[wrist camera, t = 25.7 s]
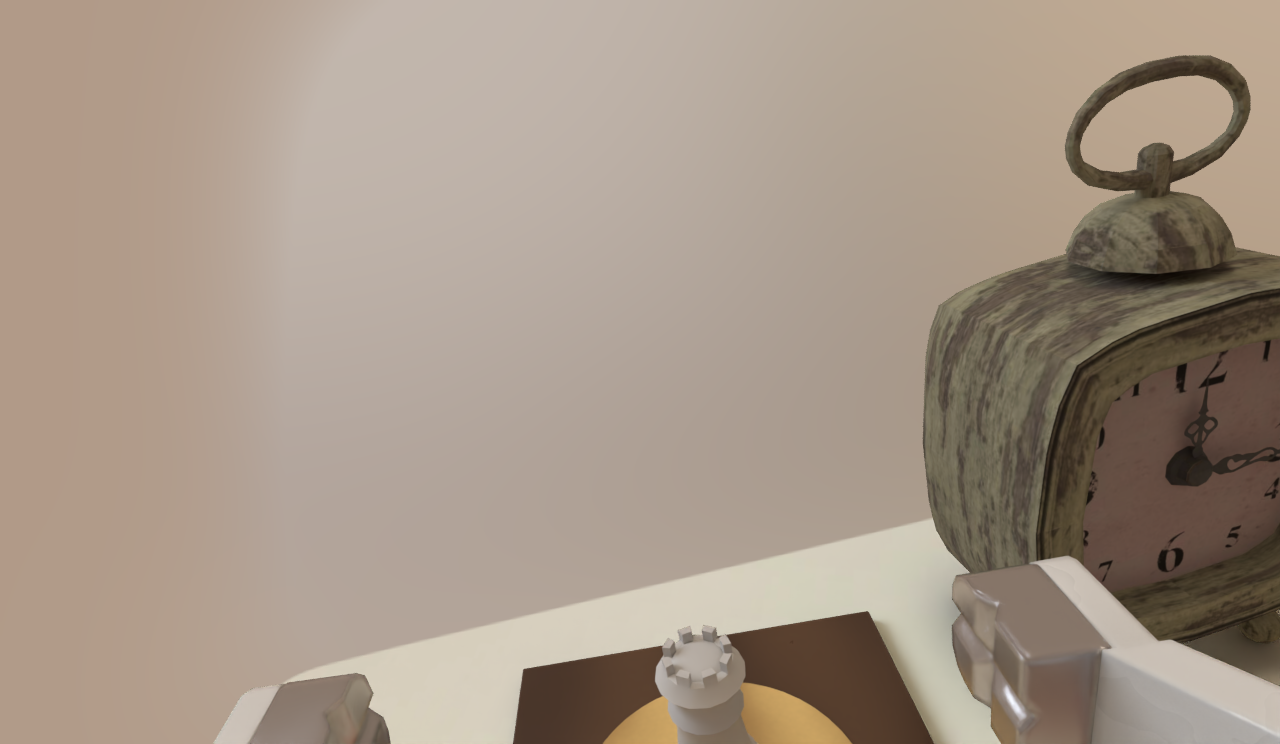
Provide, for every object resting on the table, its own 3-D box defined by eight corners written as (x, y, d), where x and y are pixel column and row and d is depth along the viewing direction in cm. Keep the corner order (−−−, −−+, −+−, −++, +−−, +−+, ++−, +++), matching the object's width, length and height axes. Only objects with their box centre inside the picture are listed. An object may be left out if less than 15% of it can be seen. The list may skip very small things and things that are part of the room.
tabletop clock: (1025, 751, 29) (1057, 98, 19) (907, 605, 37) (890, 98, 28) (1336, 656, 30) (1509, 7, 21) (1157, 536, 39) (1221, 33, 29)
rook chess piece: (764, 744, 30) (743, 596, 27) (796, 847, 26) (775, 686, 23) (661, 766, 30) (628, 620, 27) (677, 874, 26) (640, 715, 23)
